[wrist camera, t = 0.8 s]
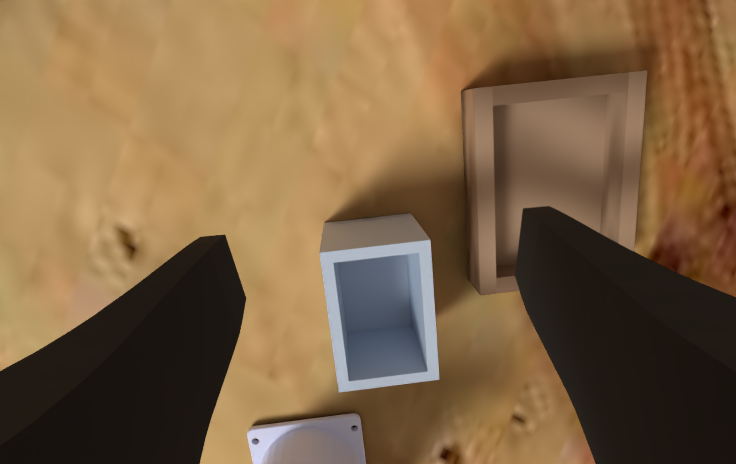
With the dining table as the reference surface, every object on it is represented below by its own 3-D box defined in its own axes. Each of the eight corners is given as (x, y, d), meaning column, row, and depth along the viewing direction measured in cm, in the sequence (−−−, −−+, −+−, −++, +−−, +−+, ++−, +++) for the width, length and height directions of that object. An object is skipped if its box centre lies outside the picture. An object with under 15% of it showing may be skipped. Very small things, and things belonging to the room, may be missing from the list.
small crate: (419, 326, 29) (439, 379, 23) (339, 336, 29) (338, 392, 23) (410, 212, 27) (430, 239, 21) (323, 222, 26) (319, 252, 21)
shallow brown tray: (607, 263, 28) (632, 276, 26) (468, 279, 28) (480, 295, 26) (617, 74, 25) (647, 70, 23) (460, 90, 25) (473, 88, 22)
